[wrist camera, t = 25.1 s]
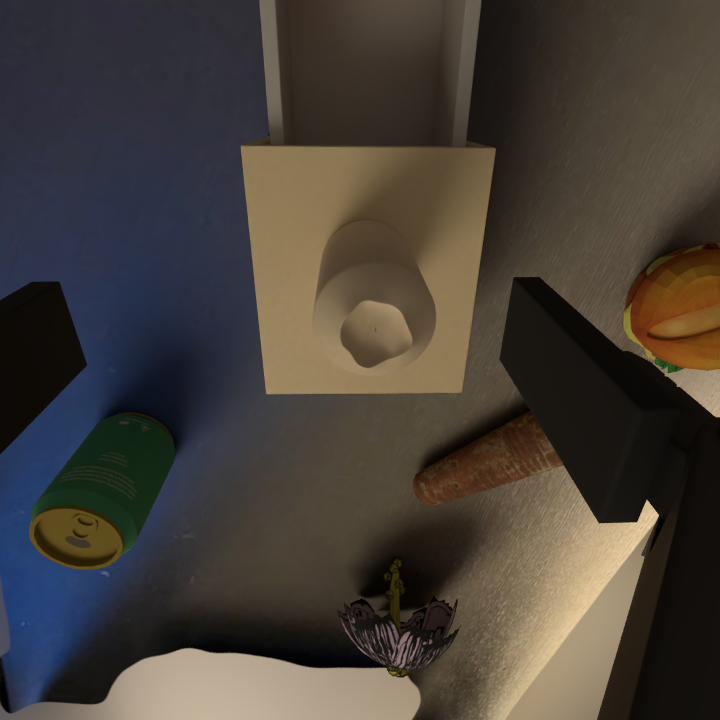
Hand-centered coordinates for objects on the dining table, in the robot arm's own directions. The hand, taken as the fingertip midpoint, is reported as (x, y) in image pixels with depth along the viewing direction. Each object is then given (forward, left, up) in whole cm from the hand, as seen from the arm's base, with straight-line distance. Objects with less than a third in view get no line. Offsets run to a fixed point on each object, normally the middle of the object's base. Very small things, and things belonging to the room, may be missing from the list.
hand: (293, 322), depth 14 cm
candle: (+4, +1, -15) cm, 15 cm away
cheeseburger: (+22, +21, -25) cm, 39 cm away
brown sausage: (+30, +2, -25) cm, 39 cm away
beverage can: (+11, -29, -25) cm, 39 cm away
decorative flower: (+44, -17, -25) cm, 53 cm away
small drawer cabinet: (+5, 0, -24) cm, 25 cm away
